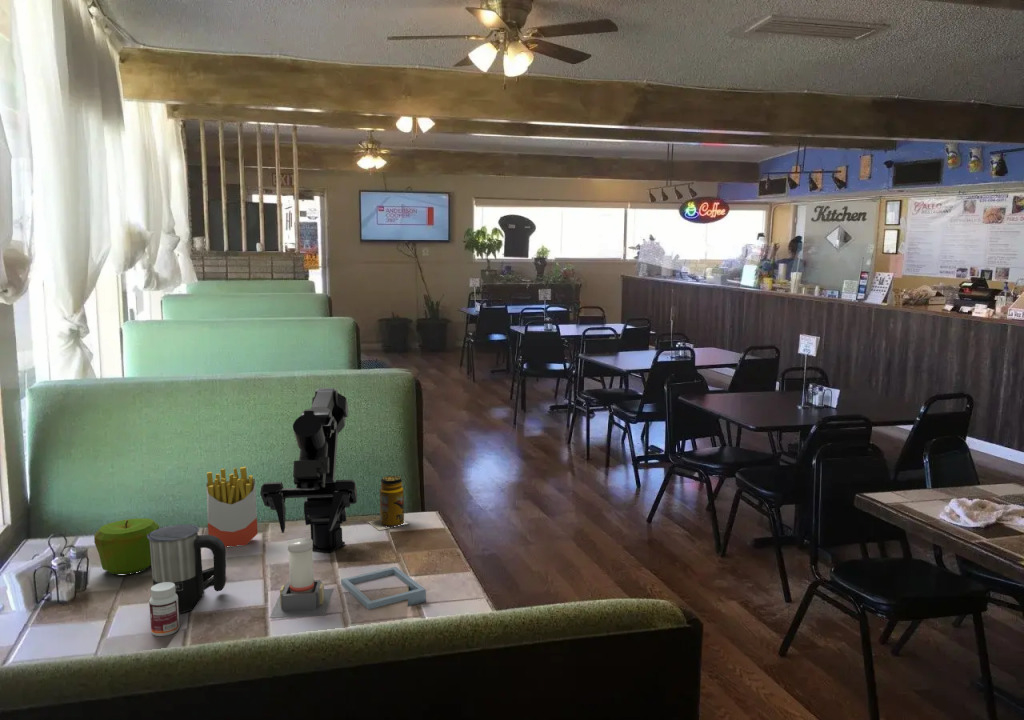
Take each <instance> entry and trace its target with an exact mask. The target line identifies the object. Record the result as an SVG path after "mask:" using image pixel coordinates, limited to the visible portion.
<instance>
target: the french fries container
mask: <svg viewBox="0 0 1024 720" xmlns="http://www.w3.org/2000/svg"><path fill="white" fill-rule="evenodd" d="M239 471H240V478H239V474H238V468H237V467H235V468H234V467H233V473H230V474H228V477H229V478H228V480H227V474H226V473H227V472H226V468H221V469H220V473H215V478H214V479H213V472H212V471H208V472H206V478H207V482H206V485H205V486H206V487H205V488H206V509H207V511H206V512H207V531H208V533H207V535H212V536H216V537H218V538H219V539H220V540H221V541H222V542H223V543H224V545H225V548H228V547H227V546H234V547H238V546H237V545H242V546H247V545H248V544H249V543H250V542H251V541H252V540H253V539H254V538H255V537H256V536H257V535H258V517H257V516H258V514H257V512H258V511H257V493H256V478H254V476H253V474H252V475H248V474H247V466H241V467H239ZM213 481H214V482H213Z"/></svg>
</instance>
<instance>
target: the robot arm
mask: <svg viewBox="0 0 1024 720" xmlns="http://www.w3.org/2000/svg"><path fill="white" fill-rule="evenodd" d="M348 417H349V404H348V401H347V397H345V396H344V395H342V394H340V393H339V392H338V389H337V388H334V387H325V388H324V387H321V388H318V389H315V393H314V396H313V397H312V399H311V407H310V408H308V409H304V410H303V411H302V412H301V414H300V416H299V417H297V418H296V419H295V420H294V422H293V424H292V428H293V429H292V430H293V433H294V437H295V440H296V445H297V447H298V449H299V456H298V460H294V461H293V469H292V471H293V474H292V475H293V476H292V477H293V484H294V485H295V487H293V488H292V487H289V488H285V487H284V485H283V481H275V482H273V481H269V482H264V483H263V484H262V485H261V487H260V491H259V492H260V493H259V494H260V497H261V499H262V503H263V504H264V506H265V507H266V508H267V507H268V508H270V510H272V511H276V514H277V518H278V523H279V527H280V531H281V534H284V533H285V529H286V504H285V503H286V499H296V498H297V499H300V498H305V499H304V502H303V511H304V520H305V521H304V522H305V526H309V525H310V526H309V527H310V539H312V540H313V548H312V550H313V551H316V552H322V553H332V552H334V551H335V550H337V549H339V548H340V547H342V546H344V545H346V542H345V541H344V540H343V528H342V527H341V524H343V523H344V522H347V509H346V508H350V507H351V505H353V504H354V505H355V504H356V503H357V502H358V490H357V485H356V482H355V481H354V480H353V479H336V468H337V467H336V466H337V455H338V454H337V453H338V452H337V450H338V440H339V439H338V436H339V433H340V432H341V431H342V430H343V429H344V428H345V426H346V418H348Z"/></svg>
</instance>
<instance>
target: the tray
mask: <svg viewBox="0 0 1024 720" xmlns="http://www.w3.org/2000/svg"><path fill="white" fill-rule="evenodd" d="M391 575H394V576H395V577H397V579H399V580H400V581H402V582H403V583H404V584H406V585H407V586H408V591H405V592H401V593H397V594H393V595H389V596H386V597H380V598H376V599H373V600H371V599H370V598H369V597H368V596H366V595H365V594H364V593H363V592H362V591H361V590H360V589H359V588H357V587H356V586H355V585H354V584H358V583H361V582H366V581H370V580H375V579H378V578H382V577H386V576H391ZM340 585H341V586H343V587H344V588H345V589H346V590H347V591H348V592H349V593H350V594H351V596H353V597H354V598H355V599H356V600H357V601H359V603H361V604H362V605H363V606H364V607H365V608H366V609H367V610H372V609H375V608H379V607H383V606H386V605H390V604H395V603H397V602H402V601H405V600H407V607H411V606H414V605H419V604H421V603H426V602H427V589H426V588H424V586H423V585H421V584H419V583H418V582H417V581H415V580H414V579H413V578H411V577H410V576H409V575H408V574H406V573H405V572H403V571H402V570H401V569H399V568H398V567H397V566H393V567H388V568H384V569H380V570H376V571H371V572H367V573H364V574H359V575H354V576H349V577H345V578H342V579H341V580H340Z"/></svg>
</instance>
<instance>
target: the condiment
mask: <svg viewBox="0 0 1024 720" xmlns="http://www.w3.org/2000/svg"><path fill="white" fill-rule="evenodd" d="M402 480H403V479H402V477H401V476H398V475H386V476H383V477H382V478H381V479H380V482H381V483H380V487H381V488H379V513H380V515H379V518H380V519H377V520H370V521H368V523H369V524H370V525H371V526H372V527H373V528H376V529H377V530H379V531H383V530H387V529H388V530H389V528H388V527H391V528H390V529H392V528H393V527H394V526H398V525H401V524H403V523H404V521H405V507H404V505H405V504H404V503H405V501H404V488H403V484H402V483H403V481H402ZM384 526H387V528H384ZM382 527H383V528H382ZM394 528H395V527H394Z"/></svg>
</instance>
